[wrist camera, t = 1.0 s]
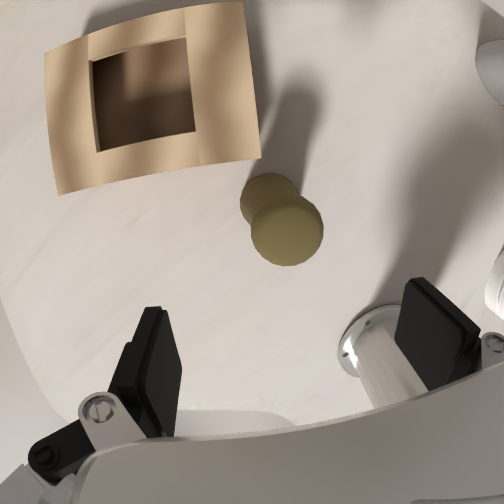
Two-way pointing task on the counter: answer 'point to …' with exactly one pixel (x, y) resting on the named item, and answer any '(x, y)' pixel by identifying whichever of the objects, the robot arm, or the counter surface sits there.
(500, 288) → the honey pot
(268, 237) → the cork
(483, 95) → the counter surface
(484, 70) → the lumpy-topped squat cylinder
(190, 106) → the drop box
